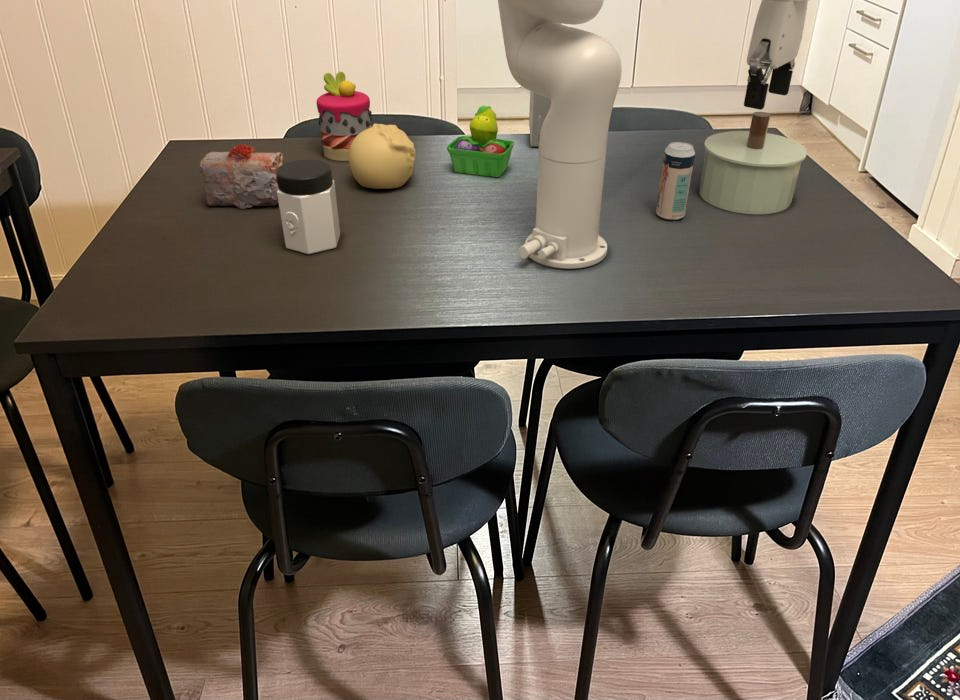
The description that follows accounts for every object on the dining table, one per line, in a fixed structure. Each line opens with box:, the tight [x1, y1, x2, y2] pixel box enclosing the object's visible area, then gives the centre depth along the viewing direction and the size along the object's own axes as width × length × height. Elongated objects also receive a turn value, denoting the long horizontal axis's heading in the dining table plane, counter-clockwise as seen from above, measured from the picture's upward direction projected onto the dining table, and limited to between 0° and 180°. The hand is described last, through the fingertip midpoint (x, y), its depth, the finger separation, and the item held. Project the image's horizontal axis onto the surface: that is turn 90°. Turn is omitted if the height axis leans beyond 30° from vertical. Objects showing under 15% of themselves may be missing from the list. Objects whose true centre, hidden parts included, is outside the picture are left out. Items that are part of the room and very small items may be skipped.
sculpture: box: [348, 123, 417, 190], centre depth 136 cm, size 12×12×11 cm
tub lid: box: [703, 111, 808, 167], centre depth 127 cm, size 17×17×7 cm
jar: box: [276, 159, 341, 255], centre depth 115 cm, size 9×8×12 cm
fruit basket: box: [446, 105, 515, 178], centre depth 141 cm, size 11×9×11 cm
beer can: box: [655, 141, 696, 221], centre depth 123 cm, size 5×5×12 cm
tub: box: [698, 149, 803, 215], centre depth 131 cm, size 16×16×8 cm
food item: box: [199, 143, 284, 210], centre depth 129 cm, size 14×8×10 cm, turn 91°
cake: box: [316, 71, 373, 162], centre depth 148 cm, size 10×10×15 cm
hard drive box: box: [528, 90, 551, 147], centre depth 155 cm, size 16×8×20 cm, turn 179°
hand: (765, 100), depth 124 cm, fingers open, 9 cm apart
